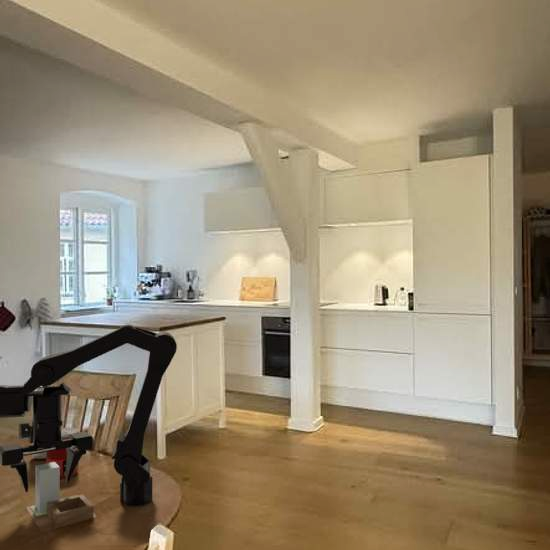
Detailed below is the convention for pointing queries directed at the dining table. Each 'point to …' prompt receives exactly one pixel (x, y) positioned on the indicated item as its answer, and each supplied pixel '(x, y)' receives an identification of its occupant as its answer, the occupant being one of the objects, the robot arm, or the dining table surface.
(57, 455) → the canned food
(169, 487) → the dining table surface
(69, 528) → the dining table surface
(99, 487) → the dining table surface
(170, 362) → the robot arm
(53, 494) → the block
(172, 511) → the dining table surface
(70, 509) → the brown slotted holder
